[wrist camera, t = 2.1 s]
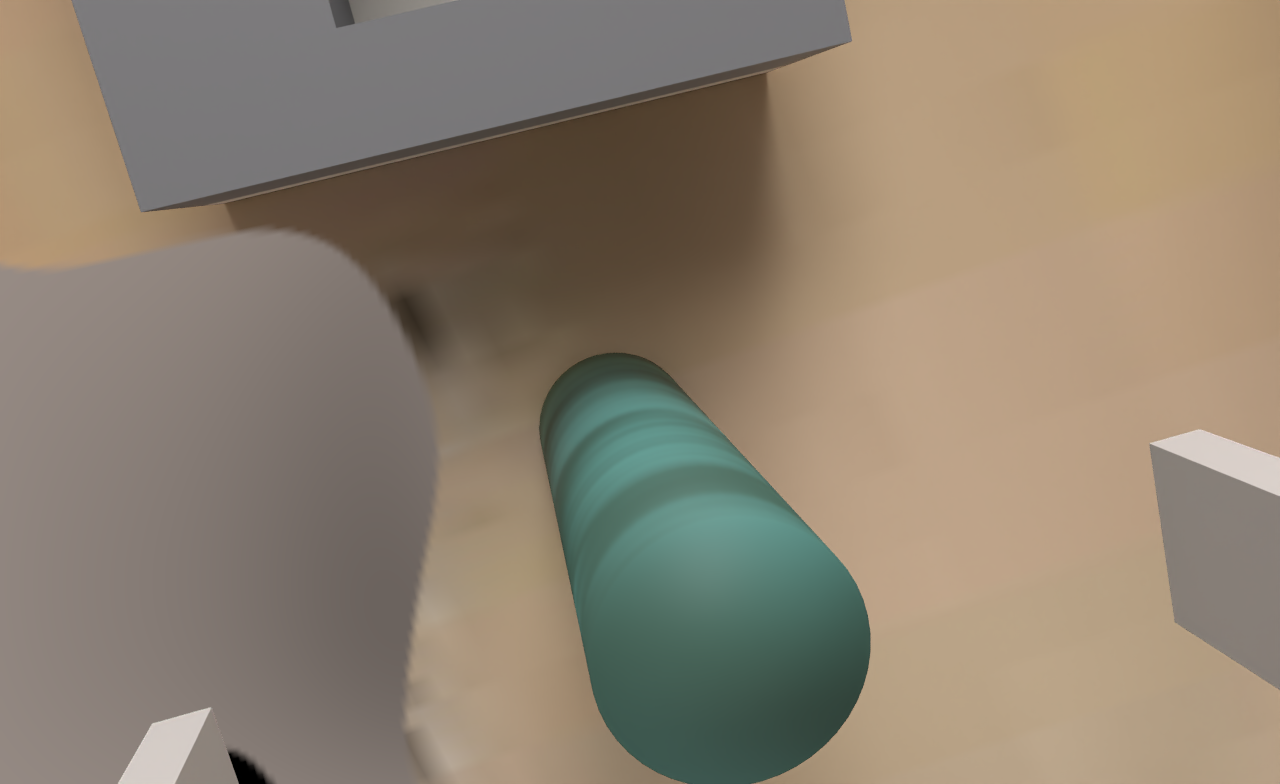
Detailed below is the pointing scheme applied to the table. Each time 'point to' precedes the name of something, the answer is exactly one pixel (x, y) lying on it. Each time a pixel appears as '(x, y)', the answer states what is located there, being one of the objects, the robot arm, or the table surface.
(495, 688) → the table surface
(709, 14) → the hole block
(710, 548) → the pin
